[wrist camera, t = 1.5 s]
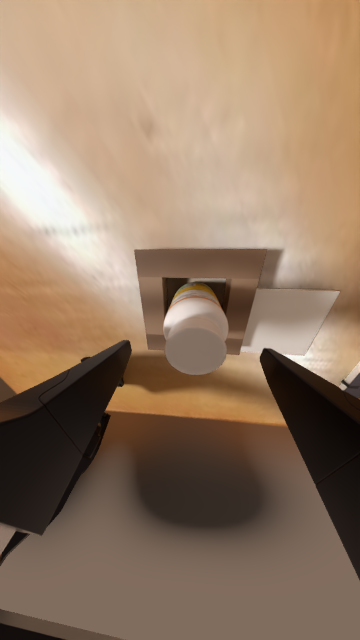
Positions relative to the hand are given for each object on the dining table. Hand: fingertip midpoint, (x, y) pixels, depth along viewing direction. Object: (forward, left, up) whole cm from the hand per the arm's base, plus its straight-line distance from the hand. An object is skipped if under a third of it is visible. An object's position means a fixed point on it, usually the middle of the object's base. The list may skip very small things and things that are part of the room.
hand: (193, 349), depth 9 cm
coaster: (-2, -11, -9) cm, 15 cm away
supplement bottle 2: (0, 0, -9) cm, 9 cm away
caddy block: (0, 0, -9) cm, 9 cm away
